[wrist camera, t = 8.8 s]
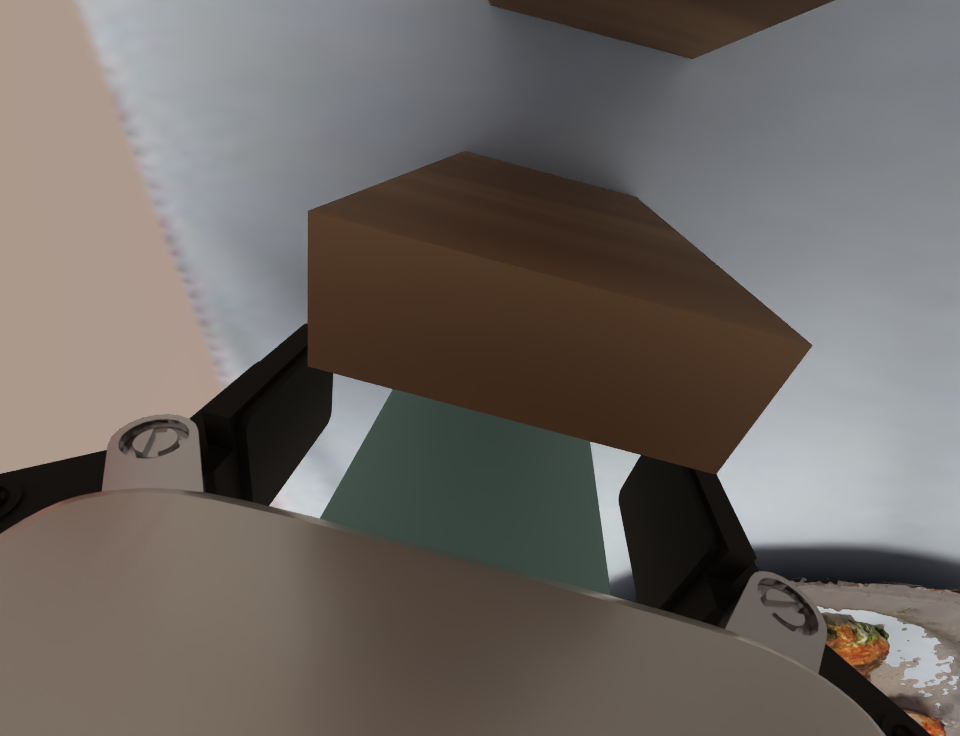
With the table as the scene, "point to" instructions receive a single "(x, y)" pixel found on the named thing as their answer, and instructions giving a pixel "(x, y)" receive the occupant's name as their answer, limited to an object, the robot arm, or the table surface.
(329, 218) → the domino
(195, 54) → the table surface
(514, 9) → the domino
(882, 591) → the food plate
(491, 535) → the domino
